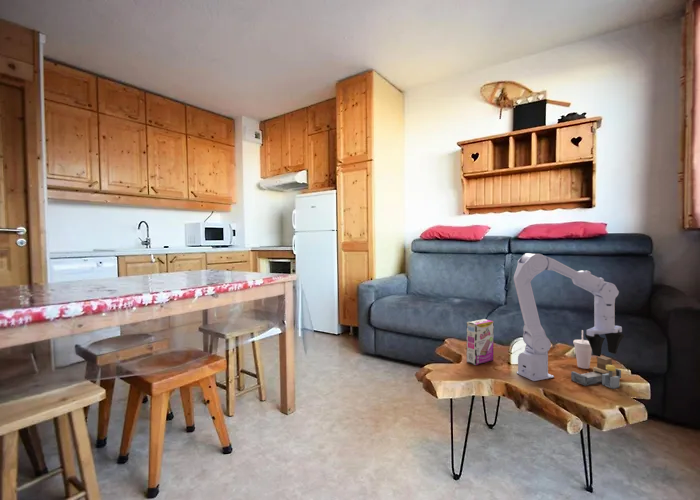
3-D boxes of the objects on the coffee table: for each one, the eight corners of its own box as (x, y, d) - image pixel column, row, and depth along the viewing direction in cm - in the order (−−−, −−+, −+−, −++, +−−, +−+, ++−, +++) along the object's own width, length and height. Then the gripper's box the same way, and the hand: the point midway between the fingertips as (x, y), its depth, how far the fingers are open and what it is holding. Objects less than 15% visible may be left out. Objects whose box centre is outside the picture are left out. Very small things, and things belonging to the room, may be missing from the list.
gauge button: (611, 382, 111) (611, 368, 111) (603, 379, 113) (603, 365, 113) (617, 381, 112) (617, 366, 111) (609, 378, 114) (609, 364, 114)
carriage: (605, 378, 116) (605, 361, 116) (593, 373, 121) (593, 356, 120) (616, 376, 118) (616, 359, 118) (603, 372, 122) (603, 355, 122)
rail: (585, 385, 113) (585, 377, 113) (571, 380, 118) (571, 371, 118) (621, 378, 118) (621, 370, 118) (606, 373, 123) (606, 365, 123)
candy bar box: (476, 366, 133) (476, 324, 132) (466, 362, 137) (465, 322, 137) (494, 360, 138) (494, 320, 138) (484, 357, 143) (483, 318, 142)
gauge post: (612, 388, 110) (612, 378, 110) (602, 384, 114) (601, 374, 114) (619, 387, 111) (619, 377, 111) (608, 383, 115) (608, 373, 114)
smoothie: (587, 364, 133) (587, 328, 132) (597, 370, 126) (597, 332, 126) (569, 363, 133) (569, 328, 133) (579, 369, 127) (579, 332, 126)
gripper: (601, 319, 113) (601, 360, 113) (631, 316, 117) (631, 355, 117) (580, 315, 119) (581, 354, 120) (610, 312, 124) (610, 349, 124)
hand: (604, 354), depth 119 cm, fingers open, 7 cm apart
